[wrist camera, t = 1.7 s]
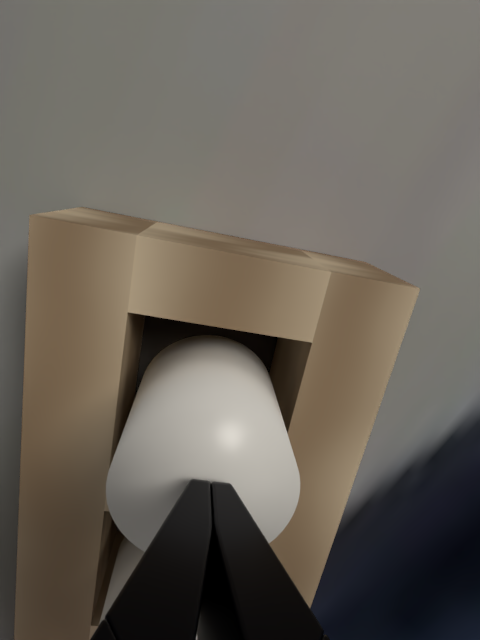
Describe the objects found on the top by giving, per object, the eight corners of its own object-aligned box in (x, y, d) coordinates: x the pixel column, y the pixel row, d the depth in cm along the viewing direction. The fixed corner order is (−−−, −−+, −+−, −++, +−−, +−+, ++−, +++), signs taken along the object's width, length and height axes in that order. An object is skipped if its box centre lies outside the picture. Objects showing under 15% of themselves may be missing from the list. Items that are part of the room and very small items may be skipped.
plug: (286, 346, 12) (321, 423, 8) (257, 459, 13) (276, 573, 9) (148, 324, 11) (116, 394, 7) (132, 444, 12) (97, 558, 9)
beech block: (365, 262, 14) (420, 288, 11) (244, 669, 21) (252, 776, 17) (81, 207, 13) (29, 214, 9) (48, 658, 20) (9, 770, 16)
